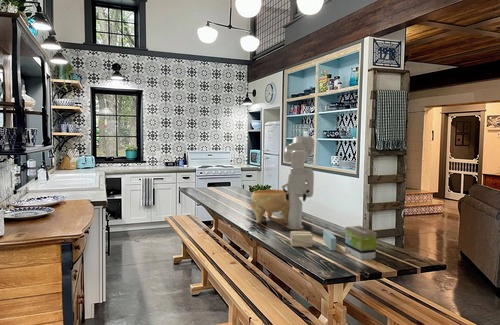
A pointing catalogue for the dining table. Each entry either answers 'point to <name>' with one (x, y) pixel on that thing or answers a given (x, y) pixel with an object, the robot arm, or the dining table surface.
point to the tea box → (360, 242)
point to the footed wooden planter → (269, 203)
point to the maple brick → (301, 238)
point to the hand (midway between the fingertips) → (295, 200)
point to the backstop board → (329, 239)
